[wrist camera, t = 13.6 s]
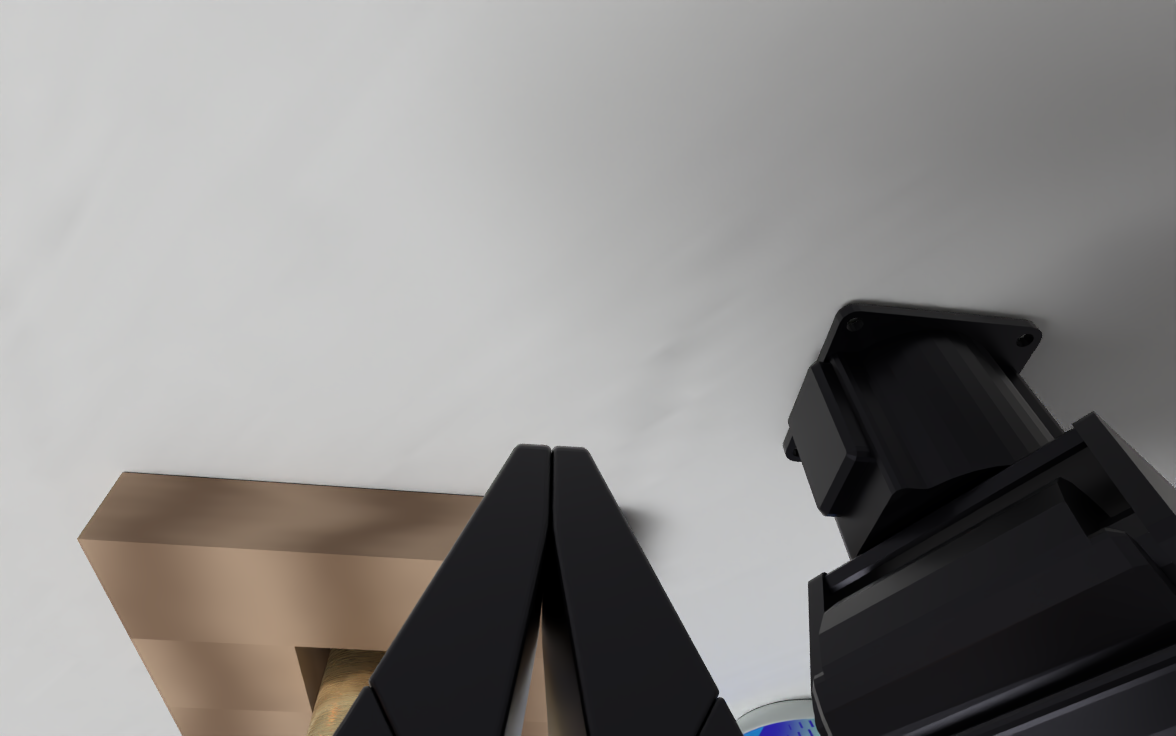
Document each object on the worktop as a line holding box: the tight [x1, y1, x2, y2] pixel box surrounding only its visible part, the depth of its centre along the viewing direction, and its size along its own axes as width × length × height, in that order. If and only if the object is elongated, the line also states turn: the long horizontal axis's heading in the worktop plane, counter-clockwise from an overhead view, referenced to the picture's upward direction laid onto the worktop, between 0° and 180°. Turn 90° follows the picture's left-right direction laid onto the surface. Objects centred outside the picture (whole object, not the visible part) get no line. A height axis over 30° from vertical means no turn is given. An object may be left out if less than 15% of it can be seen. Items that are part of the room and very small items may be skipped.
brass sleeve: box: [306, 648, 386, 736], centre depth 29 cm, size 4×4×8 cm
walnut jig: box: [77, 472, 549, 736], centre depth 31 cm, size 18×18×3 cm
